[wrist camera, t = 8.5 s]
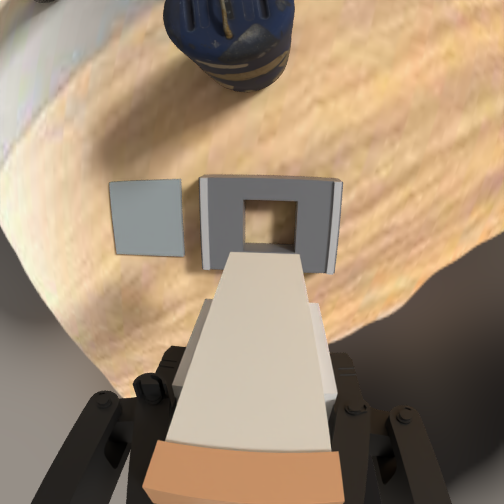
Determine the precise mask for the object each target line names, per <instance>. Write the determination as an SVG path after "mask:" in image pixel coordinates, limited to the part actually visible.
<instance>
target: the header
mask: <svg viewBox="0 0 504 504" xmlns="http://www.w3.org/2000/svg"><path fill="white" fill-rule="evenodd" d="M342 190H343V182H342V181H341V180H339V179H336V178H321V177H302V176H277V175H203V176H201V177H199V204H200V232H201V254H202V269H203V270H210V269H223V270H224V268H225V265H226V262H227V259H228V257H229V254H230V252H247V253H277V254H300V259H301V264H302V270H303V273H326V274H333V273H335V264H336V256H337V247H338V237H339V227H340V216H341V204H342ZM245 200H277V201H296V212H295V231H294V244H266V243H245Z"/></svg>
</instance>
